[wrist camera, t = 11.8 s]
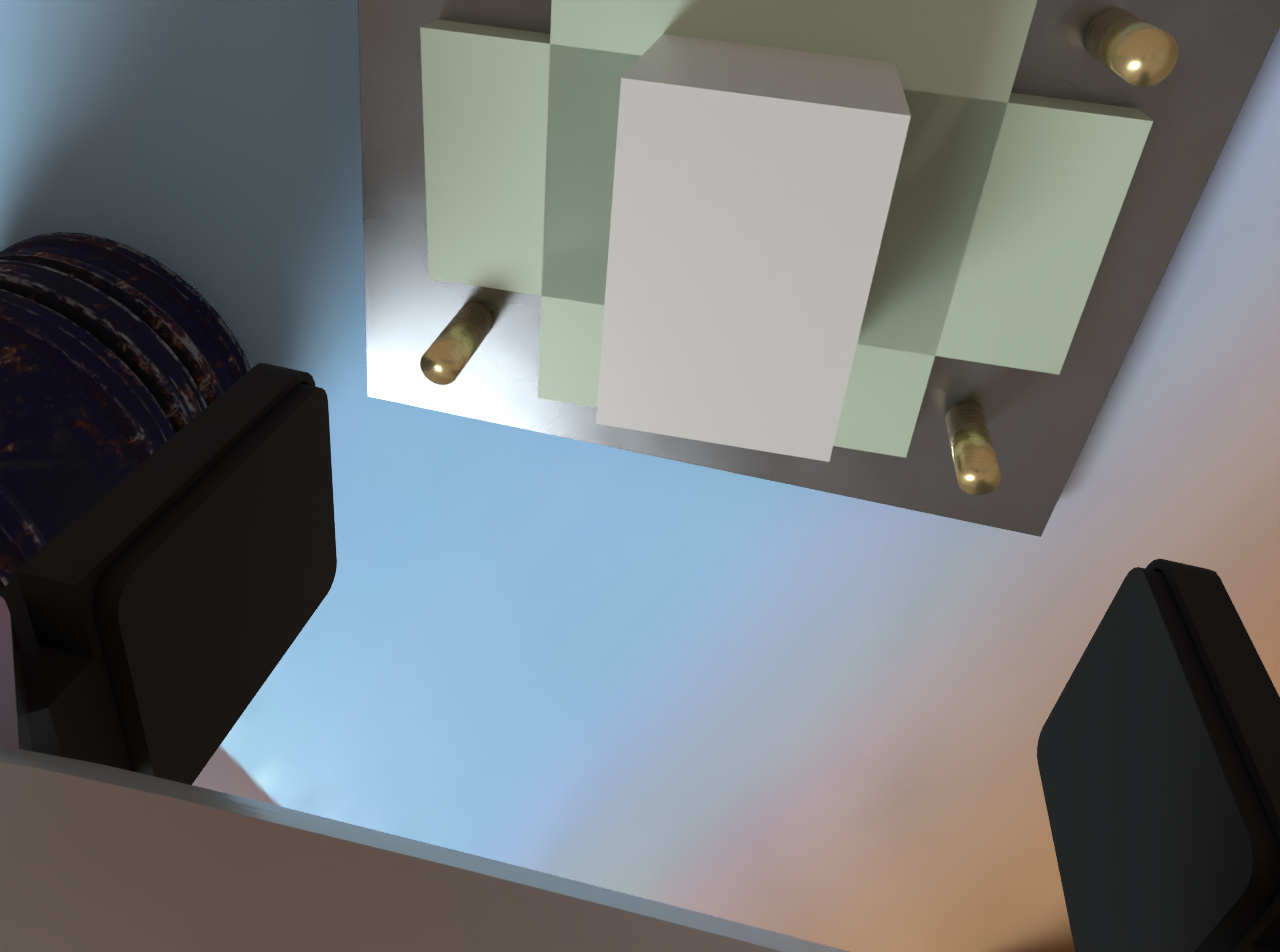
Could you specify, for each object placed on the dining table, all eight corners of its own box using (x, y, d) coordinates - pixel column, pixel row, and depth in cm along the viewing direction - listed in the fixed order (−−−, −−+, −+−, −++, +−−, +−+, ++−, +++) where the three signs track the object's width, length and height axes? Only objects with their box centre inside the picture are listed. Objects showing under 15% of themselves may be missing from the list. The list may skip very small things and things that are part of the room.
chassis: (1319, -117, 20) (1425, -111, 16) (1033, 512, 28) (1061, 604, 25) (374, -271, 21) (282, -296, 17) (383, 378, 30) (323, 447, 26)
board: (1193, -45, 20) (1321, -10, 14) (1014, 452, 26) (1058, 599, 21) (434, -131, 21) (305, -126, 16) (446, 361, 28) (358, 477, 23)
